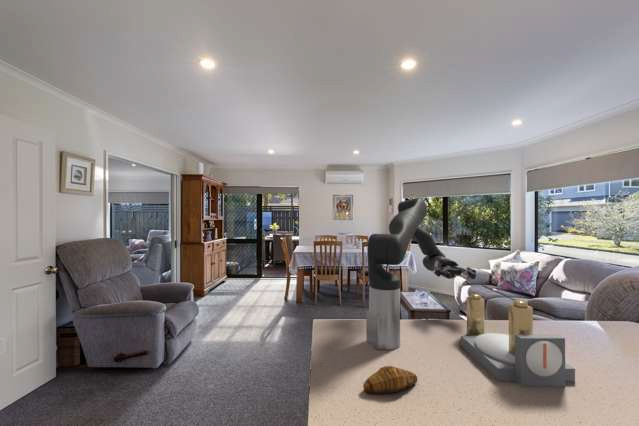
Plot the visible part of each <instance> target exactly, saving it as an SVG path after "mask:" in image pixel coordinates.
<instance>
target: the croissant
mask: <svg viewBox="0 0 639 426" xmlns="http://www.w3.org/2000/svg"><path fill="white" fill-rule="evenodd" d="M417 382H418V376H417V375H416V374H415V373H414V372H411V371H410V370H406V369H403V368H398V367H395V366H393V365H385V366H383V367H380V368H379V369H378V370H377V371H375V372H374V373H373V374H371V375H370V376H369V377H367V378H366V380H365V381H364V383H363V385H362V387H363V390H364V392H365V393H368V394H380V395H381V394H392V393H393V394H394V393H398V392H401V391H404V390H405V389H409V388H410V387H412V386H414V385H416V383H417Z"/></svg>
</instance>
